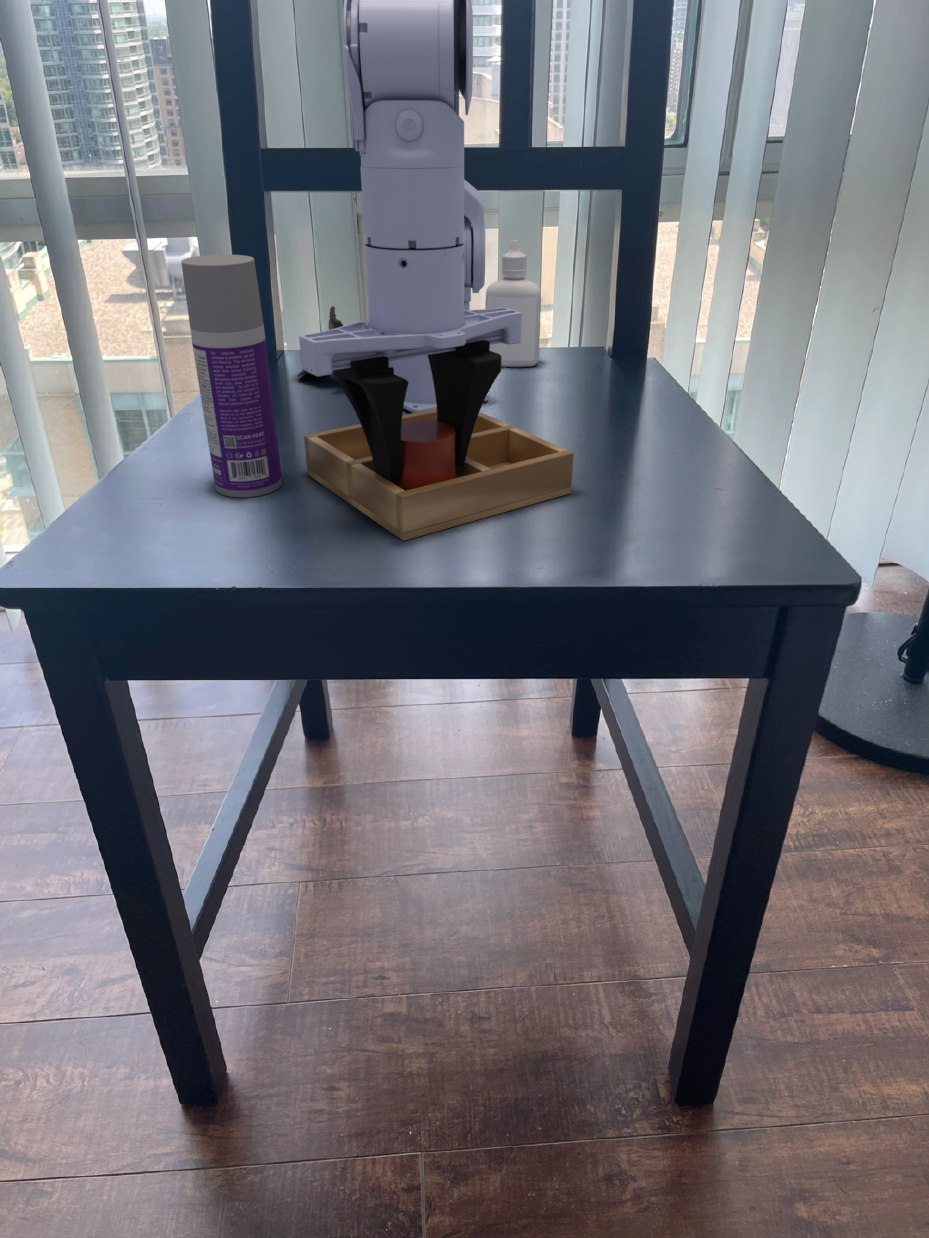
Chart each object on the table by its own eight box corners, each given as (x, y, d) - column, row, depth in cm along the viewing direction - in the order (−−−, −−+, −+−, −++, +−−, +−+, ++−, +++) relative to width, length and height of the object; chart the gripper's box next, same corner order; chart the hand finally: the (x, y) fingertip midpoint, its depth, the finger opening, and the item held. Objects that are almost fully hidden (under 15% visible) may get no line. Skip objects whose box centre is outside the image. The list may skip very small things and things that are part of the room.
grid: (307, 474, 63) (303, 435, 61) (461, 439, 69) (461, 403, 68) (403, 541, 53) (401, 496, 52) (571, 493, 60) (574, 452, 58)
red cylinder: (377, 485, 57) (373, 427, 55) (432, 472, 59) (431, 415, 57) (411, 507, 54) (409, 446, 52) (468, 492, 56) (468, 433, 54)
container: (294, 477, 62) (270, 256, 55) (260, 501, 58) (229, 267, 51) (238, 469, 64) (207, 252, 56) (202, 492, 60) (163, 263, 52)
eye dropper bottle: (520, 372, 87) (525, 245, 81) (477, 363, 90) (478, 240, 84) (545, 363, 90) (551, 240, 84) (502, 355, 93) (505, 236, 87)
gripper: (332, 263, 43) (350, 514, 49) (556, 242, 50) (545, 464, 57) (274, 247, 48) (298, 477, 54) (486, 230, 55) (483, 435, 62)
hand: (420, 468), depth 56 cm, fingers closed on red cylinder, 4 cm apart
